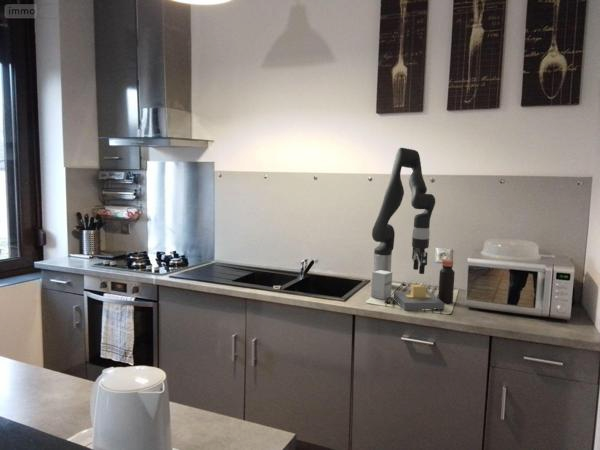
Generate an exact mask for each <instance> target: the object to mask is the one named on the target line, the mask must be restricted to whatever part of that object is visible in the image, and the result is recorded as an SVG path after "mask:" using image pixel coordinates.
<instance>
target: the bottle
mask: <svg viewBox="0 0 600 450" xmlns="http://www.w3.org/2000/svg"><path fill="white" fill-rule="evenodd" d="M441 263H442V264H441V266H442V268H441V269H440V270H439V279H438V280H439V281H438V294H437V298H438V299H440V300H441V301H442V302H444V303H446V304H445V305H450V303H451V304H453V303H454V290H455V289H454V288H455V275H456V274H455V273H456V272H455V270H453V267H454V260H447V259H444V260H442V262H441Z"/></svg>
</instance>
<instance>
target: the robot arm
mask: <svg viewBox="0 0 600 450" xmlns="http://www.w3.org/2000/svg"><path fill="white" fill-rule="evenodd" d="M393 161H394V162H393V166H392V170H391V174H390V178H389V180H388V184H387V188H386V190H385V193H384V197H383V200H382V202H381V203H382V204H381V207H380V210H379V212H378V216H377V218H376V220H375V223H374V225H373V228H372V231H371V237H372V239H373V240H374V242H375V243H376V242H377V243H379V244H378V246H376V247H375V248H374V255H373V272H375V271H379V270H383V271H388V272H392V255H393V254H392V252H393V249H394V248H395V247H394V245H395V236H396V235H395V229H394V227H393V225H391V224H389V222H390V220H391V218H392V216H393V215H394V214H395V213H396V212H397V210H398V209H399V207H401V204H402V201H403V199H404V195H405V190H404V186H403V182H402V179H401V174H402V173H401V171H402V168H409V169H412V173H411V174H410V175H409V179H408V185H409V188H410V192H411V200H410V201H411V206H412V207H413V209H414V210H423V212H422V213H418V214H415V215H414V218H413V229H412V239H411V247H412V252H411V253H412V254H411V260H412V261H413V266H412V267H413V268H412V269H413V270H414V271H415V270H416V271H418V273H419V274H420V275H424V274H425V267H426V266H427V265H428V254H429V253H428V252H427V251H425V250H426V249H428V248H429V247H430V246H429V245H430V236H431V235H430V222H431V217H432V214H433V211H434V208H435V205H436V198H435V195H433V194H432V193H427V190H428V189H427V185H426V182H425V180H424V177H423V176H424V175H423V171H422V163H421V156H420V154H419V151H418V150H416V149H412V148H406V147H399V149H397V151H396V153H395V156H394V160H393Z"/></svg>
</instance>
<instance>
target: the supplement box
mask: <svg viewBox="0 0 600 450" xmlns="http://www.w3.org/2000/svg"><path fill="white" fill-rule="evenodd" d="M371 274H372V275H371V289H370V290H371V292H370V293H371V296H370V297H371V298H376V299H379V300H385V299H388V298H391V297H392V287H393V284H392V283H393V272H392V271H391V272H388V271H383V270H379V271H375V272H374V271H372V273H371Z"/></svg>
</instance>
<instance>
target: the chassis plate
mask: <svg viewBox="0 0 600 450" xmlns="http://www.w3.org/2000/svg"><path fill="white" fill-rule="evenodd" d="M410 294H411V291H410V292H409V291H393V300H394V299H395V300H396V301H397V302H398V303H399V304H400V305H399V304H398V303H397V302H396V301H395V300H394V301H395V302H396V303H397V304H398V305H399V306H400V307H401V309H402V310H404V311H423V310H422V309H434V308H436V309H445V306H444V305H445V304H444V302H442V301H441V300H440V299H438V296H436V295H435V294H433V293H431V292H430V291H426V295H429V296H430V297H431V298H426V299H411V298H407V297H406V296H405V295H410Z"/></svg>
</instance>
